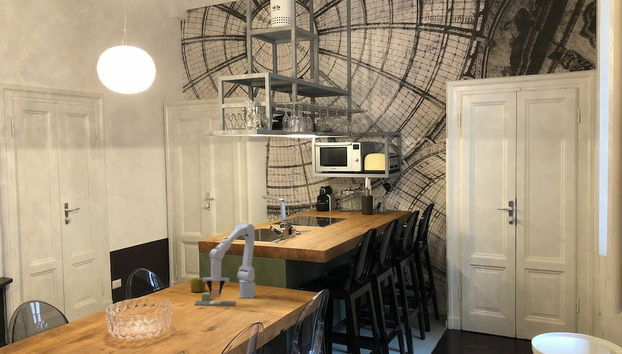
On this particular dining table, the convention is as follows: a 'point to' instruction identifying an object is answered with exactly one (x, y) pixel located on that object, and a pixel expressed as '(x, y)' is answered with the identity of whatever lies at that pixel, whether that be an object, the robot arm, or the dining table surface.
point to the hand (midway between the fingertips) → (215, 294)
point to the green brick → (206, 296)
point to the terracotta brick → (215, 293)
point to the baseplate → (216, 303)
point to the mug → (197, 285)
